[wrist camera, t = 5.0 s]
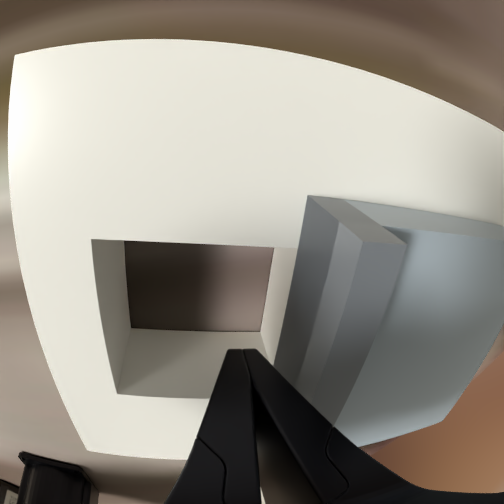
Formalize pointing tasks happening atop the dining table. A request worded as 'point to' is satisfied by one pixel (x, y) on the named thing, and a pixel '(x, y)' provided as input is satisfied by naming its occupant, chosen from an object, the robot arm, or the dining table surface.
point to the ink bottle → (8, 493)
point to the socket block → (201, 200)
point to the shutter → (389, 314)
